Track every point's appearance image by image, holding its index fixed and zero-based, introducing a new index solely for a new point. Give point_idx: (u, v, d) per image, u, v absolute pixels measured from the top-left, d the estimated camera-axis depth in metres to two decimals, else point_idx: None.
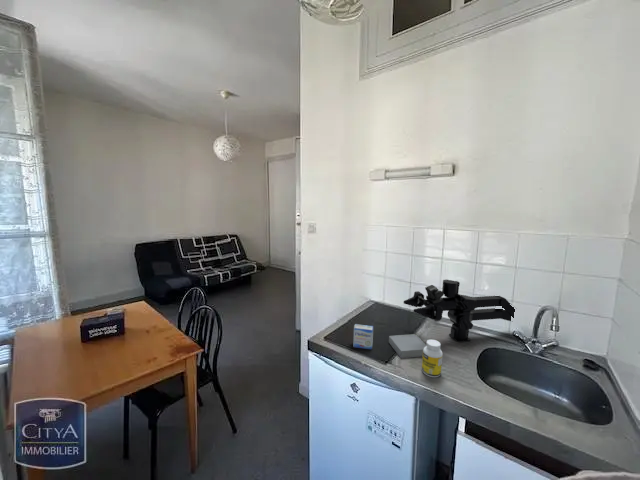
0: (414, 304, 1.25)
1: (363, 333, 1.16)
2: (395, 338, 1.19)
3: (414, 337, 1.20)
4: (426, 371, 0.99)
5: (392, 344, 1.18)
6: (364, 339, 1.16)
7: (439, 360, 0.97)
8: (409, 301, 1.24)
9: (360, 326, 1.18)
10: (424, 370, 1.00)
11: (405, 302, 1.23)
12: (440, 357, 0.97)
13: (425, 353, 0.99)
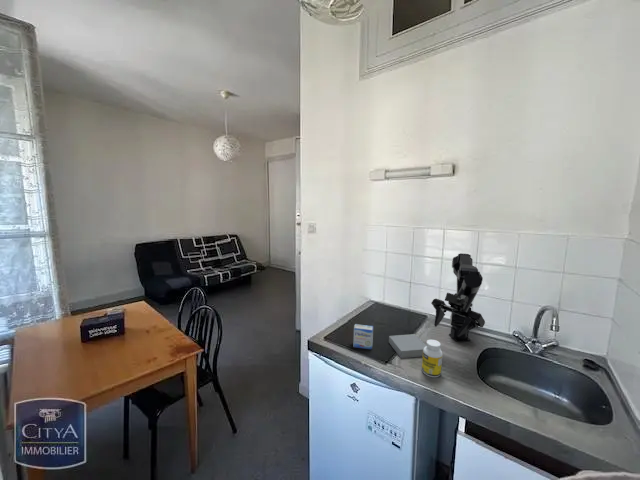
0: (442, 316, 1.10)
1: (363, 333, 1.16)
2: (395, 338, 1.19)
3: (414, 337, 1.20)
4: (426, 371, 0.99)
5: (392, 344, 1.18)
6: (364, 339, 1.16)
7: (439, 360, 0.97)
8: (438, 320, 1.08)
9: (360, 326, 1.18)
10: (424, 370, 1.00)
11: (436, 324, 1.07)
12: (440, 357, 0.97)
13: (425, 353, 0.99)
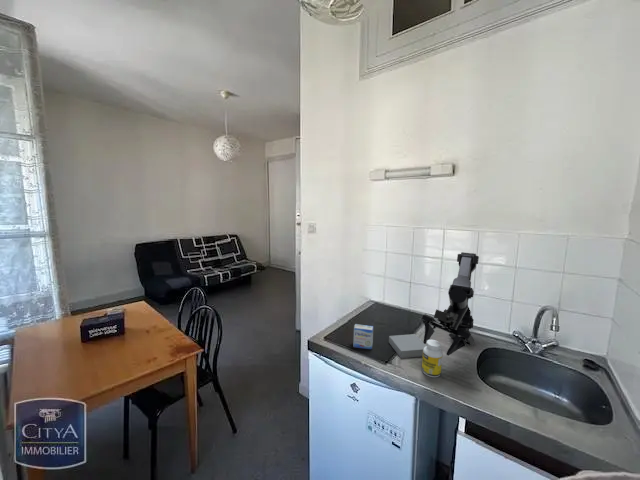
0: (431, 332, 1.07)
1: (363, 333, 1.16)
2: (395, 338, 1.19)
3: (414, 337, 1.20)
4: (426, 371, 0.99)
5: (392, 344, 1.18)
6: (364, 339, 1.16)
7: (439, 360, 0.97)
8: (427, 337, 1.05)
9: (360, 326, 1.18)
10: (424, 370, 1.00)
11: (425, 342, 1.04)
12: (440, 357, 0.97)
13: (425, 353, 0.99)
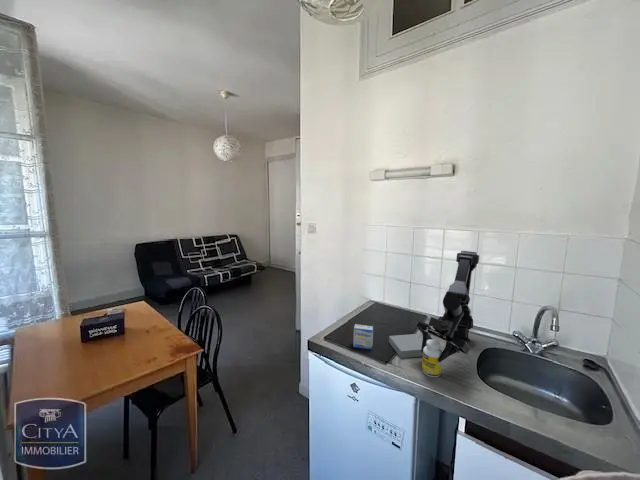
0: None
1: (363, 333, 1.16)
2: (395, 338, 1.19)
3: (414, 337, 1.20)
4: (426, 371, 0.99)
5: (392, 344, 1.18)
6: (364, 339, 1.16)
7: None
8: (425, 345, 1.03)
9: (360, 326, 1.18)
10: (424, 370, 1.00)
11: None
12: None
13: (425, 353, 0.99)
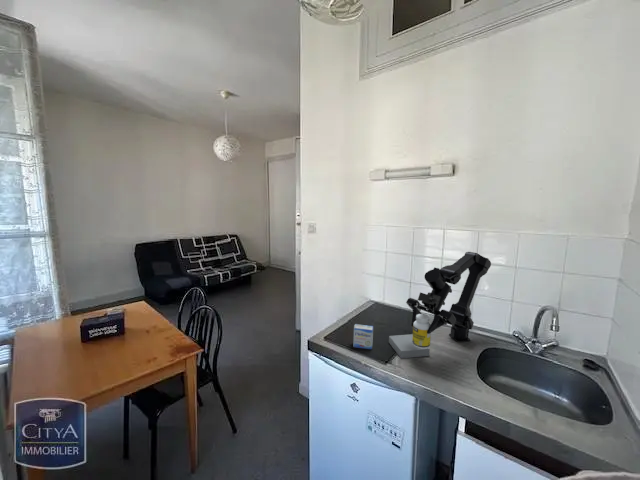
0: None
1: (363, 333, 1.16)
2: (395, 338, 1.19)
3: None
4: (416, 343, 1.06)
5: (392, 344, 1.18)
6: (364, 339, 1.16)
7: None
8: (415, 320, 1.09)
9: (360, 326, 1.18)
10: (414, 342, 1.06)
11: None
12: None
13: (415, 326, 1.05)
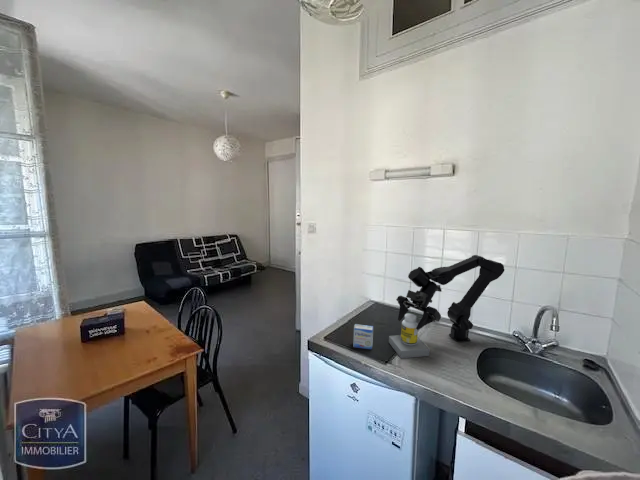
0: (405, 311, 1.20)
1: (363, 333, 1.16)
2: (395, 338, 1.19)
3: None
4: (404, 341, 1.14)
5: (392, 344, 1.18)
6: (364, 339, 1.16)
7: (415, 330, 1.12)
8: (401, 315, 1.18)
9: (360, 326, 1.18)
10: (402, 339, 1.15)
11: (399, 319, 1.18)
12: None
13: (403, 324, 1.14)
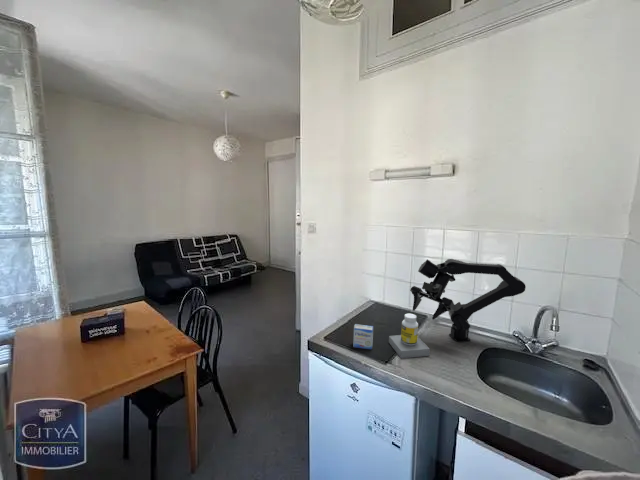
0: (419, 301, 1.25)
1: (363, 333, 1.16)
2: (395, 338, 1.19)
3: None
4: (404, 341, 1.14)
5: (392, 344, 1.18)
6: (364, 339, 1.16)
7: (415, 330, 1.12)
8: (416, 305, 1.23)
9: (360, 326, 1.18)
10: (402, 339, 1.15)
11: (414, 309, 1.23)
12: (416, 327, 1.12)
13: (403, 324, 1.14)
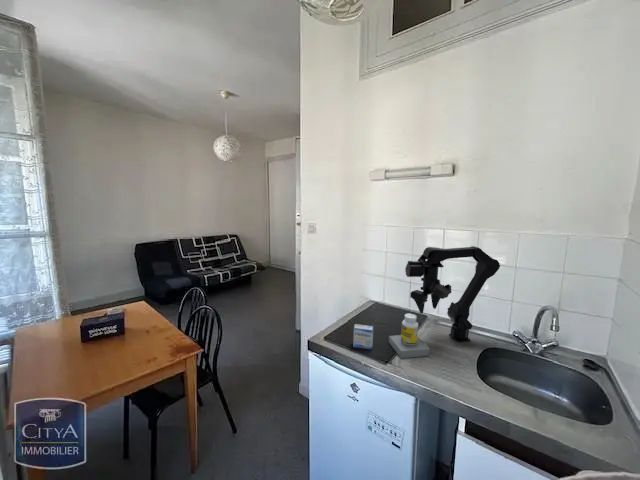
0: None
1: (363, 333, 1.16)
2: (395, 338, 1.19)
3: None
4: (404, 341, 1.14)
5: (392, 344, 1.18)
6: (364, 339, 1.16)
7: (415, 330, 1.12)
8: None
9: (360, 326, 1.18)
10: (402, 339, 1.15)
11: None
12: (416, 328, 1.12)
13: (403, 324, 1.14)
